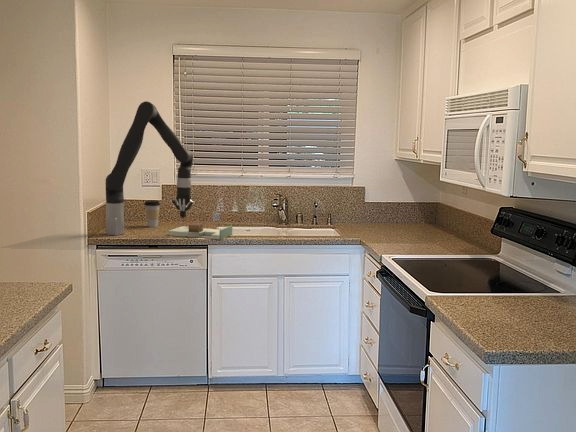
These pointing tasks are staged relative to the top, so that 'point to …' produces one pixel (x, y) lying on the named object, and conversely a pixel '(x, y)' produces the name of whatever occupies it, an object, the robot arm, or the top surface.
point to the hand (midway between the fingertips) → (183, 217)
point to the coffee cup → (152, 213)
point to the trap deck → (202, 232)
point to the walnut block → (195, 227)
